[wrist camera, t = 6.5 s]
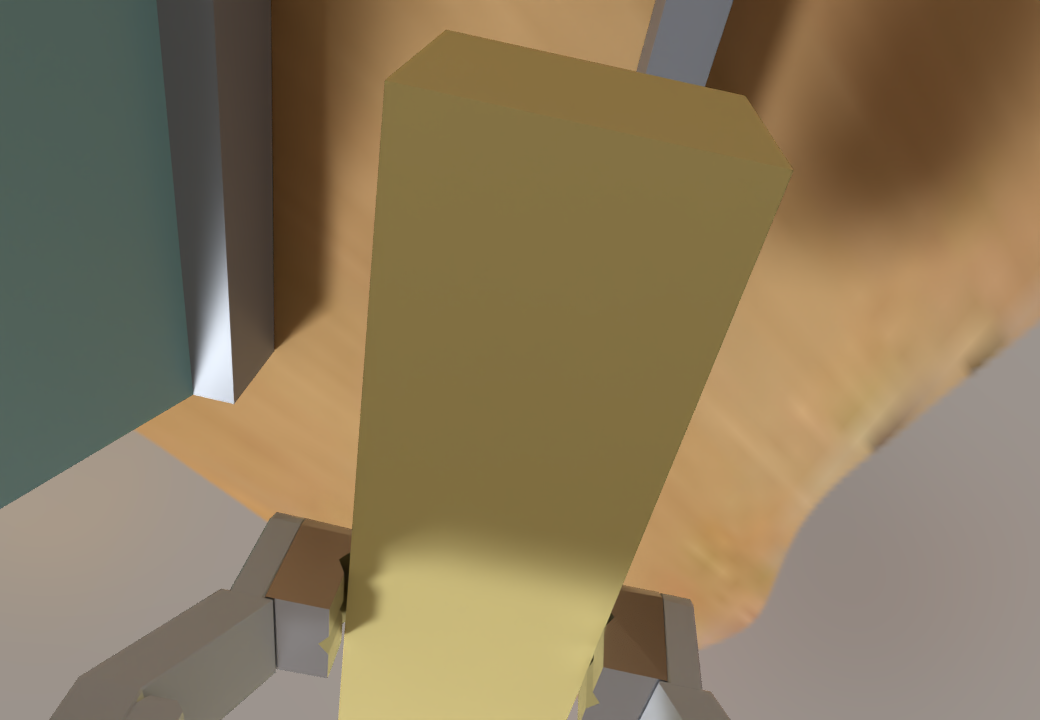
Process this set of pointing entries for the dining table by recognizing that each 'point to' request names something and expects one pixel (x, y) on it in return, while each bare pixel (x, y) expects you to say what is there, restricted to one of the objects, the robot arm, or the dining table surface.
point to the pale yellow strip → (531, 361)
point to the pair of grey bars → (249, 171)
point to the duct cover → (84, 235)
